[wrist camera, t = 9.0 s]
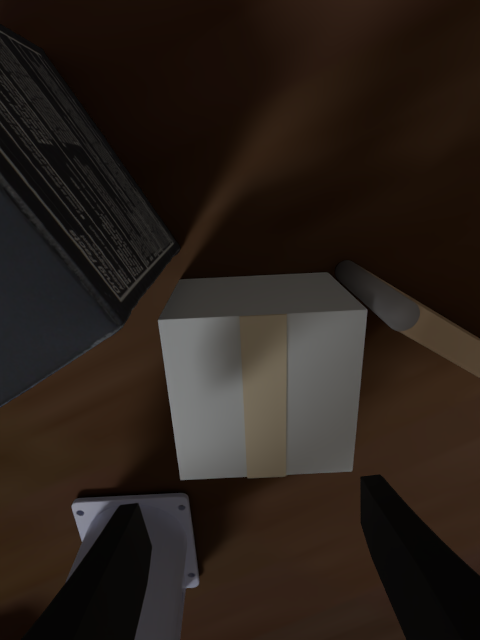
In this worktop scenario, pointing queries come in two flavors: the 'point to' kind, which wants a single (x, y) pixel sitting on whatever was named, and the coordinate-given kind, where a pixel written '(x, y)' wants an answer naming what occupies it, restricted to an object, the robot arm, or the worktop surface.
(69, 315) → the small box
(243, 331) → the carton
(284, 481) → the worktop surface
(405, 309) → the flap
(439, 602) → the robot arm
